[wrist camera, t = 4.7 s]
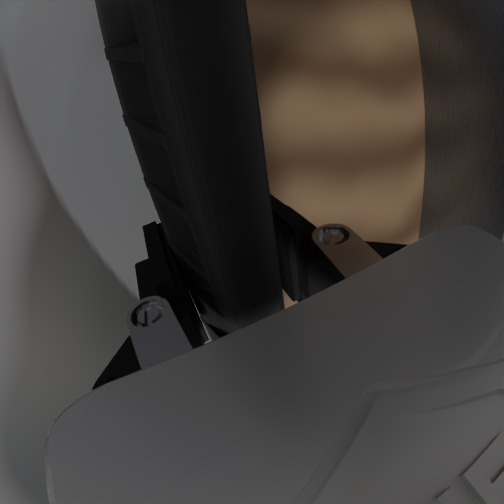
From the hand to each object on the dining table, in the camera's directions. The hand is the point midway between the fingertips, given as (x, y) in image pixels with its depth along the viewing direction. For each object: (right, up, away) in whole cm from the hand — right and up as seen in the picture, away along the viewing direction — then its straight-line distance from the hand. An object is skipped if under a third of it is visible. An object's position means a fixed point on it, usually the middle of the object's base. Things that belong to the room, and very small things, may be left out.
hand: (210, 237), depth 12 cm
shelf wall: (+17, +9, +9) cm, 21 cm away
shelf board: (+9, +7, +8) cm, 14 cm away
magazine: (-2, +2, +4) cm, 5 cm away
